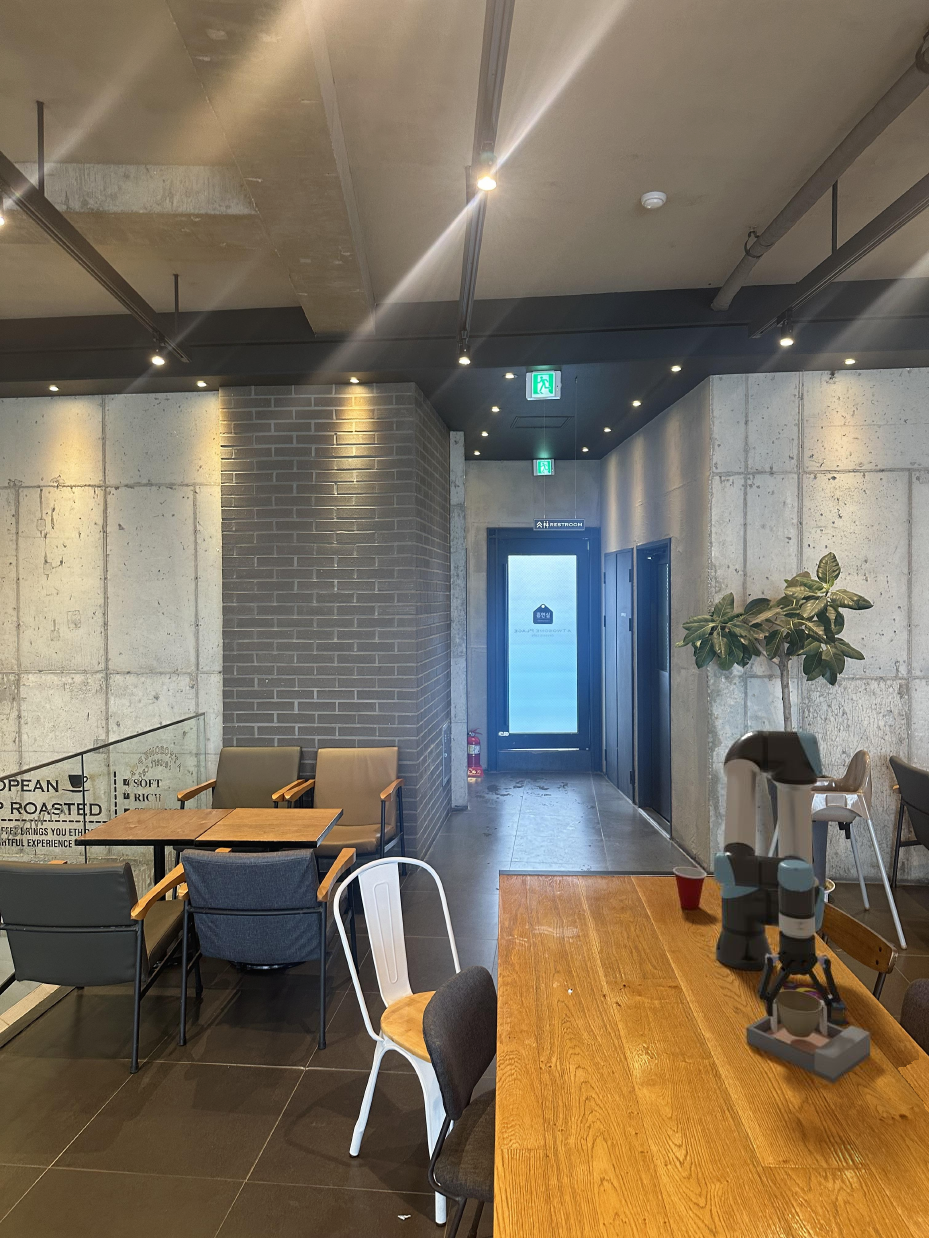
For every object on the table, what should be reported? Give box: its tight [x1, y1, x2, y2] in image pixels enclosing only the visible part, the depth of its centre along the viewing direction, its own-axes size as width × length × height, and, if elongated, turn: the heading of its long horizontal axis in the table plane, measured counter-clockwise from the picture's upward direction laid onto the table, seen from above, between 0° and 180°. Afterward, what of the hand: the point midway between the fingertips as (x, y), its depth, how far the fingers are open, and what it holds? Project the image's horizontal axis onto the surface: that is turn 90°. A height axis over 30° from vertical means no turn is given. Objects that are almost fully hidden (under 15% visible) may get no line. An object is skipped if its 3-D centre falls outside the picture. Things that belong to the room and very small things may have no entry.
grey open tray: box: [746, 1013, 871, 1084], centre depth 175 cm, size 16×20×5 cm
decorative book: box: [780, 980, 850, 1026], centre depth 192 cm, size 11×16×5 cm
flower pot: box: [775, 990, 822, 1038], centre depth 177 cm, size 10×10×7 cm
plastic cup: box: [672, 866, 708, 911], centre depth 261 cm, size 11×11×12 cm
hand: (798, 1031), depth 177 cm, fingers closed on flower pot, 10 cm apart
